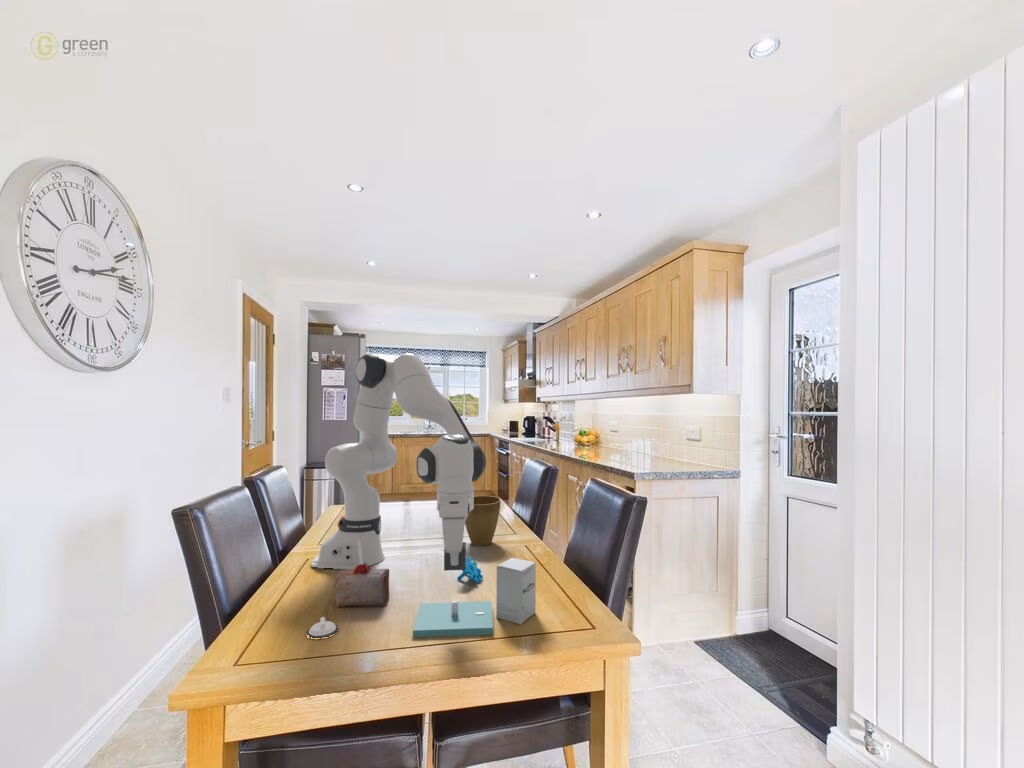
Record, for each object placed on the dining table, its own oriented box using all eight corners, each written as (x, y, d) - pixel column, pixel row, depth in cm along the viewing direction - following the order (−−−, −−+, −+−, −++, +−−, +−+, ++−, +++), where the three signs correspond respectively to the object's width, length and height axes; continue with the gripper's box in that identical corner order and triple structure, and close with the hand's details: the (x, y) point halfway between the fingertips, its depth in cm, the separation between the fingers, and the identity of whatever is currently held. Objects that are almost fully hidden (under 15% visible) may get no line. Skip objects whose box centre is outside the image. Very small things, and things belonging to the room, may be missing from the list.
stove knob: (304, 644, 102) (304, 631, 102) (305, 629, 108) (305, 616, 109) (340, 638, 105) (340, 624, 105) (338, 623, 111) (339, 611, 111)
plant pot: (478, 534, 183) (478, 494, 183) (508, 541, 174) (508, 498, 175) (452, 544, 171) (452, 500, 171) (483, 552, 162) (483, 506, 163)
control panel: (412, 637, 104) (412, 616, 104) (420, 609, 118) (420, 591, 118) (493, 634, 105) (493, 614, 106) (491, 606, 119) (491, 589, 119)
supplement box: (521, 625, 110) (521, 571, 110) (495, 617, 114) (495, 565, 114) (536, 613, 116) (536, 561, 116) (511, 606, 120) (511, 556, 120)
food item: (330, 610, 118) (331, 570, 118) (340, 596, 126) (341, 559, 126) (385, 608, 119) (385, 569, 119) (391, 595, 126) (391, 559, 127)
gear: (477, 583, 130) (455, 555, 133) (462, 597, 131) (441, 568, 134) (489, 574, 141) (468, 548, 144) (475, 588, 141) (455, 561, 144)
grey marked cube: (444, 570, 109) (444, 548, 110) (445, 563, 114) (445, 542, 115) (465, 569, 110) (465, 548, 110) (466, 562, 115) (466, 541, 115)
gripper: (445, 493, 123) (445, 546, 122) (438, 512, 102) (438, 575, 102) (469, 493, 123) (469, 546, 123) (467, 511, 103) (467, 575, 102)
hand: (455, 559), depth 112 cm, fingers closed on grey marked cube, 5 cm apart
